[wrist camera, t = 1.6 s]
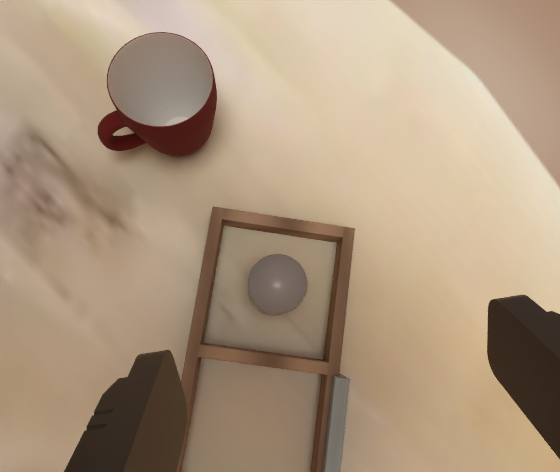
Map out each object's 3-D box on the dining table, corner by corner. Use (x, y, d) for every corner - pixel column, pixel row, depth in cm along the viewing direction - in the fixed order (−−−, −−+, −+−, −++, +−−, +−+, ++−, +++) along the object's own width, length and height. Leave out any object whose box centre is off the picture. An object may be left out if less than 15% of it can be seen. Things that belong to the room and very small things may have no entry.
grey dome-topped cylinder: (245, 311, 39) (244, 308, 31) (252, 264, 40) (253, 250, 32) (292, 318, 39) (303, 317, 31) (298, 271, 40) (310, 259, 32)
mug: (145, 203, 40) (112, 165, 31) (101, 136, 41) (55, 79, 32) (238, 146, 42) (234, 93, 32) (194, 84, 43) (177, 14, 33)
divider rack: (163, 502, 35) (153, 522, 32) (215, 213, 41) (211, 203, 37) (324, 523, 36) (332, 544, 32) (355, 235, 41) (365, 227, 38)
